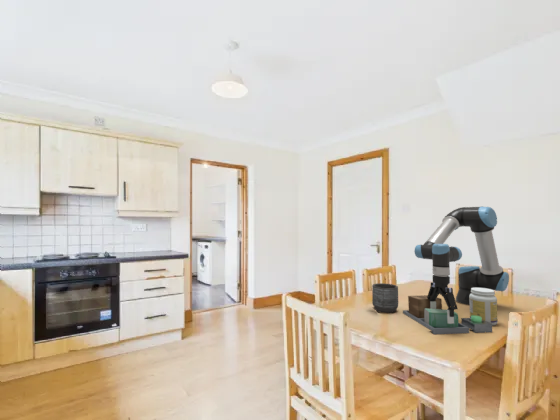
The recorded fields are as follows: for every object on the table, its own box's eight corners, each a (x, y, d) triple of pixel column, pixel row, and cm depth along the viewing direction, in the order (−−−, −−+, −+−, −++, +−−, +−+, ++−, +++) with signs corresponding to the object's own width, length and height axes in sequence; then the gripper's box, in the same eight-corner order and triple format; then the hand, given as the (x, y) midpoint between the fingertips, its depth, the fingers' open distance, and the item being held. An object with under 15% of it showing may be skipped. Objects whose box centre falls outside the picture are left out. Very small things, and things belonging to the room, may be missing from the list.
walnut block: (431, 313, 169) (430, 295, 170) (442, 318, 159) (441, 298, 160) (408, 314, 167) (408, 295, 168) (418, 318, 157) (417, 299, 158)
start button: (477, 323, 150) (477, 315, 150) (484, 326, 146) (483, 318, 146) (468, 323, 150) (468, 315, 150) (475, 326, 145) (475, 318, 145)
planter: (399, 309, 179) (398, 284, 179) (397, 316, 166) (397, 289, 166) (374, 306, 185) (374, 282, 185) (370, 313, 172) (370, 287, 172)
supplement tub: (490, 319, 163) (489, 287, 163) (502, 327, 151) (502, 292, 151) (465, 317, 165) (464, 286, 165) (475, 325, 153) (475, 291, 153)
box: (459, 329, 145) (458, 313, 145) (429, 327, 147) (428, 312, 147) (452, 324, 152) (452, 308, 152) (424, 322, 154) (423, 307, 154)
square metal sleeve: (478, 325, 152) (478, 317, 153) (492, 332, 144) (492, 323, 144) (461, 326, 152) (461, 318, 152) (474, 332, 143) (474, 324, 143)
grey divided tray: (432, 313, 171) (432, 309, 171) (469, 333, 142) (469, 327, 142) (402, 314, 170) (402, 310, 170) (434, 334, 141) (433, 328, 141)
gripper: (419, 271, 162) (420, 311, 161) (450, 280, 137) (451, 327, 136) (433, 270, 163) (433, 310, 162) (465, 280, 138) (466, 327, 137)
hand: (441, 318), depth 149 cm, fingers open, 13 cm apart
